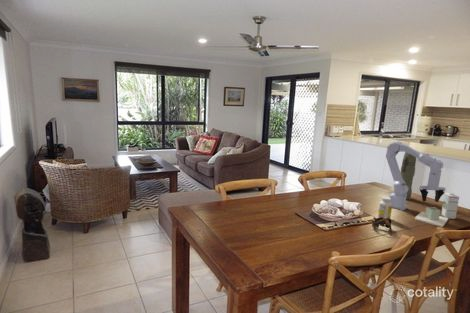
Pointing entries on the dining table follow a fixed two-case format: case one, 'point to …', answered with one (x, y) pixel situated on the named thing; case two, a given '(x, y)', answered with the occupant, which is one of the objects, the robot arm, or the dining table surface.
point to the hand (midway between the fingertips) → (430, 201)
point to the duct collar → (432, 213)
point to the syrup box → (450, 205)
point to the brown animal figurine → (381, 223)
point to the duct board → (439, 222)
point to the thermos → (408, 171)
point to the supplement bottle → (385, 208)
